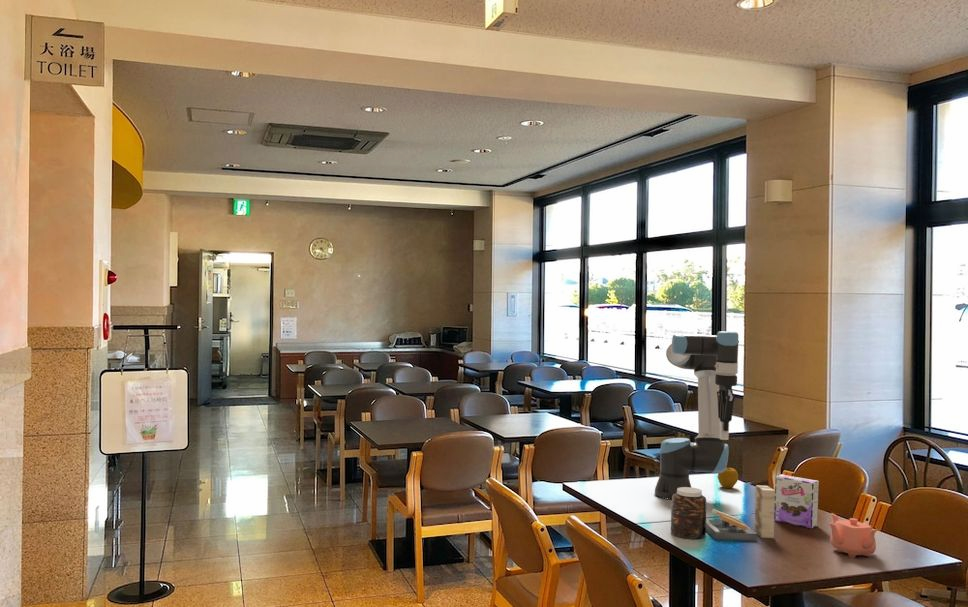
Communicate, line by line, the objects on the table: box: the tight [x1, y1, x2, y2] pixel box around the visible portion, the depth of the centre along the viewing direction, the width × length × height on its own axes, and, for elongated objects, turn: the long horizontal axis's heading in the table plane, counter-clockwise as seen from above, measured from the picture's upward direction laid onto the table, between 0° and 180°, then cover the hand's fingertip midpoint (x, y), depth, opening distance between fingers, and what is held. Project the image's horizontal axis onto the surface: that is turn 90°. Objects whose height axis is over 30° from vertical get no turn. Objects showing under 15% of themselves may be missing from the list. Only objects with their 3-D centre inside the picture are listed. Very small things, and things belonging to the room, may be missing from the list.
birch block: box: [753, 484, 775, 539], centre depth 262 cm, size 7×4×16 cm, turn 0°
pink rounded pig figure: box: [827, 512, 879, 558], centre depth 245 cm, size 14×14×11 cm
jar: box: [670, 486, 707, 540], centre depth 260 cm, size 12×12×15 cm
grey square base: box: [706, 519, 758, 542], centre depth 262 cm, size 15×14×4 cm
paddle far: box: [711, 508, 741, 522], centre depth 266 cm, size 3×9×1 cm, turn 91°
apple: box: [717, 467, 739, 489], centre depth 332 cm, size 8×8×9 cm
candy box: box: [774, 474, 820, 529], centre depth 279 cm, size 14×6×16 cm, turn 47°
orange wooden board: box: [717, 514, 748, 530], centre depth 259 cm, size 3×9×1 cm, turn 91°
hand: (724, 439), depth 278 cm, fingers closed
